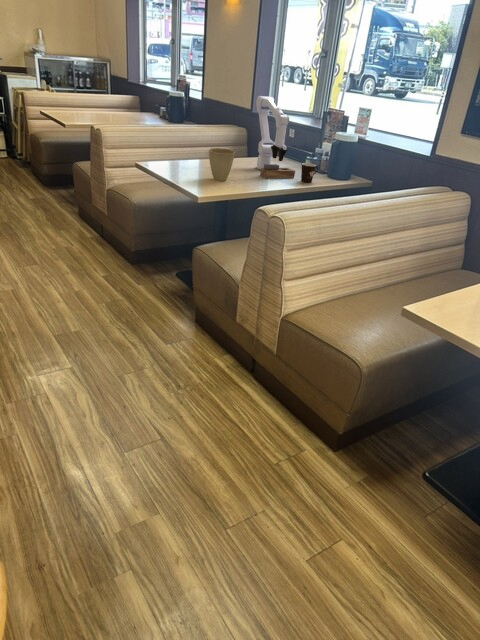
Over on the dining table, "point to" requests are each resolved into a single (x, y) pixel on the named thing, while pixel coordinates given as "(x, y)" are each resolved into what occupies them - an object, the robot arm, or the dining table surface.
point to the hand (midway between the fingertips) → (277, 159)
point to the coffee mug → (308, 172)
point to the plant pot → (221, 162)
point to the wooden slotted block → (278, 173)
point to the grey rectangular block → (271, 167)
